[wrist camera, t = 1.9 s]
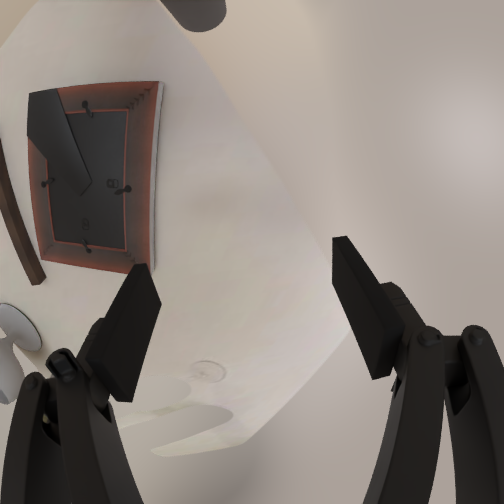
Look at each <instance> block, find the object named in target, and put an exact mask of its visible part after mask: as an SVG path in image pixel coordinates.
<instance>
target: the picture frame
mask: <svg viewBox="0 0 504 504" xmlns="http://www.w3.org/2000/svg"><path fill="white" fill-rule="evenodd" d="M163 86H164V83H163V82H159V81H142V82H114V83H99V84H88V85H78V86H70V87H63V88H55V89H49V90H43V91H38V92H33V93H29V101H28V118H27V136H28V163H29V179H30V191H31V201H32V209H33V216H34V223H35V229H36V235H37V241H38V246H39V251H40V256H41V260H46V261H51V262H57V263H63V264H68V265H74V266H80V267H86V268H92V269H98V270H105V271H111V272H118V273H124V274H129V272H130V270H131V268H132V267H133V265H134V264H141V263H147V265H148V268H149V271H150V274H151V276H152V273H153V271H154V197H155V173H156V156H157V142H158V130H159V120H160V110H161V102H162V94H163Z"/></svg>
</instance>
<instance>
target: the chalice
mask: <svg viewBox="0 0 504 504" xmlns="http://www.w3.org/2000/svg"><path fill="white" fill-rule="evenodd" d="M0 326H1V328H2V330H3V331H4V332H5V334H6V335H7V337H5V338H3V339H0V403H3V404H9V403H11V402H13V401H14V400H15V399H17V398H18V394H19V391H20V387H21V384H22V382H23V380H24V379H25V376H24V372H23V369H22V367H21V365H20V363H19V361H18V360H17V358H16V356H15V354H14V353H13V347H12V346H13V342H14V343H15V344H17V345H18V346H20V347H21V348H23V349H25V350H28V351H38V350H39V349H40V347H41V340H40V337H39V335H38V333H37V331H36V329H35V328H34V326H33V325H32V324H31V322H30V321H29V320H28V319H27V318H26V317H25V316H24V315H23V314H22V313H21V312H19V311H18V310H17V309H15V308H14V307H12V306H10V305H7V304H0Z"/></svg>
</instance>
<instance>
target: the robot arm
mask: <svg viewBox="0 0 504 504" xmlns="http://www.w3.org/2000/svg"><path fill="white" fill-rule="evenodd" d="M332 241H333V243H332V253H333V255H332V256H333V257H332V284H333V286H334V289H335V291H336V293H337V295H338V298H339V300H340V302H341V304H342V307H343V309H344V311H345V314H346V316H347V318H348V321H349V323H350V325H351V328H352V330H353V333H354V335H355V337H356V340H357V342H358V345H359V347H360V350H361V352H362V355H363V357H364V360H365V362H366V365H367V367H368V370H369V373H370V375H371V378H372V380H375V379H379V378H382V377H386V376H390V374H391V371H392V368H393V367H394V369H395V371H396V373H397V377H396V379H395V382H394V385H393V387H392V389H391V391H392V392H393V395H392V400H391V405H390V411H389V415H388V420H387V424H386V428H385V432H384V437H383V440H382V445H381V448H380V452H379V456H378V459H377V462H376V466H375V469H374V472H373V475H372V479H371V482H370V484H369V488H368V490H367V494H366V496H365V499H364V502H363V504H428V502H429V498H430V494H431V490H432V486H433V481H434V476H435V471H436V466H437V460H438V454H439V447H440V439H441V431H442V421H443V408H444V400H445V405H446V410H447V416H448V422H449V428H450V435H451V442H452V450H453V460H454V470H455V487H456V504H504V367H503V365H502V362H501V359H500V357H499V355H498V352H497V350H496V347H495V345H494V343H493V340H492V338H491V336H490V334H489V333H488V331H486V330H485V329H484V328H483V327H480V326H477V325H470V326H467V327H466V328H465V329H464V330H463V332H462V334H461V336H443V335H442V334H441V332H440V331H439V330H437V329H436V328H434V327H431V326H426V325H425V323H424V322H423V320H422V319H421V317H420V316H419V314H418V313H417V311H416V310H415V308H414V307H413V305H412V304H410V301H409V300H408V298H407V297H406V295H405V294H404V292H403V291H402V290H401V288H400V287H398V286H397V285H395V284H394V283H392V282H388V283H382V284H380V283H379V282H378V280H377V279H376V277H375V276H374V274H373V273H372V271H371V270H370V268H369V267H368V266H367V264H366V263H365V261H364V260H363V258H362V257H361V255H360V254H359V252H358V251H357V250H356V248H355V247H354V245H353V244H352V242H351V241H350V240H349V238H348V237H347V236H341V237H334V238H332ZM161 305H162V304H161V301H160V298H159V296H158V293H157V291H156V288H155V285H154V282H153V280H152V277H151V274H150V271H149V268H148V265H147V263H141V264H134V265H133V267H132V268H131V270H130V272H129V274H128V275H127V277H126V279H125V281H124V282H123V284H122V286H121V288H120V290H119V291H118V293H117V295H116V297H115V299H114V301H113V303H112V304H111V306H110V308H109V310H108V312H107V314H106V316H105V318H99V319H98V320H97V321H96V322H95V323H94V324H93V325H92V327H91V329H90V331H89V333H88V334H89V335H87V337H86V339H85V341H84V343H83V345H82V347H81V349H80V351H79V353H78V355H77V357H76V358H75V357H74V355H73V354H72V352H71V351H70V350H69V349H66V348H62V349H58V350H56V351H54V352H53V353H52V354H51V355H50V356H49V357H48V359H47V360H46V364H45V365H46V367H47V368H48V369H49V371H50V372H51V373H52V374H53V376H54V377H53V378H48V379H45V378H44V377H43V375H42V374H41V373H39V372H32V373H30V374H29V375H27V376H26V377H25V379H24V380H23V382H22V384H21V387H20V391H19V394H18V398H17V402H16V405H15V409H14V413H13V417H12V422H11V426H10V431H9V436H8V441H7V447H6V453H5V460H4V467H3V476H2V486H1V500H0V504H144V503H143V501H142V498H141V496H140V494H139V491H138V488H137V486H136V483H135V481H134V478H133V475H132V472H131V469H130V467H129V464H128V461H127V458H126V454H125V451H124V448H123V445H122V442H121V438H120V435H119V431H118V427H117V424H116V420H115V416H114V412H113V408H112V405H111V404H110V402H109V401H108V399H109V396H110V394H111V395H112V396H113V397H114V399H115V400H116V401H118V402H132V401H133V397H134V393H135V389H136V386H137V382H138V379H139V376H140V372H141V369H142V365H143V362H144V358H145V355H146V352H147V348H148V345H149V342H150V339H151V336H152V332H153V329H154V326H155V323H156V320H157V317H158V314H159V311H160V308H161ZM44 415H45V416H46V417H47V418H48V419H47V422H46V423H45V422H44V421H43V416H44Z"/></svg>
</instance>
